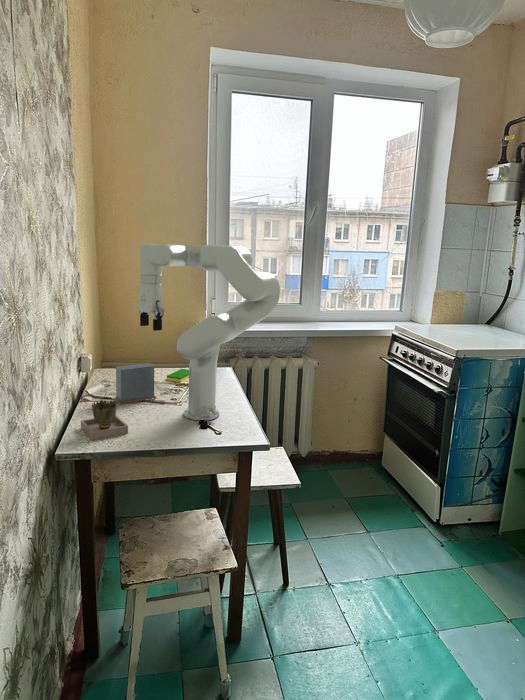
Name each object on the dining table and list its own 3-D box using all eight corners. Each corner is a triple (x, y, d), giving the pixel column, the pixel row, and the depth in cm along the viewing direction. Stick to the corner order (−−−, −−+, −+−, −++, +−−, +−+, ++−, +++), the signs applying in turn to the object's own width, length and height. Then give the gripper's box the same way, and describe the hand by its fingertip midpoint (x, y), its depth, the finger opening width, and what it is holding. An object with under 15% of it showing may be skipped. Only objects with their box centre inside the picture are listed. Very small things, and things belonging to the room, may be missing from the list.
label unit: (155, 398, 186) (156, 366, 183) (120, 404, 177) (120, 370, 174) (149, 394, 190) (149, 362, 187) (114, 399, 182) (114, 366, 179)
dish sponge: (195, 375, 221) (195, 370, 221) (180, 383, 208) (180, 377, 208) (181, 373, 223) (181, 368, 223) (166, 381, 211) (166, 375, 210)
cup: (120, 424, 157) (120, 401, 155) (111, 433, 149) (111, 408, 148) (98, 422, 157) (97, 399, 155) (88, 431, 150) (87, 406, 148)
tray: (128, 433, 152) (128, 425, 152) (92, 440, 146) (92, 432, 145) (115, 421, 161) (115, 414, 161) (81, 427, 154) (80, 420, 154)
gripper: (129, 277, 173) (130, 324, 177) (152, 282, 160) (152, 333, 164) (149, 277, 178) (149, 323, 182) (172, 282, 165) (172, 331, 169)
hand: (150, 327), depth 173 cm, fingers open, 9 cm apart
